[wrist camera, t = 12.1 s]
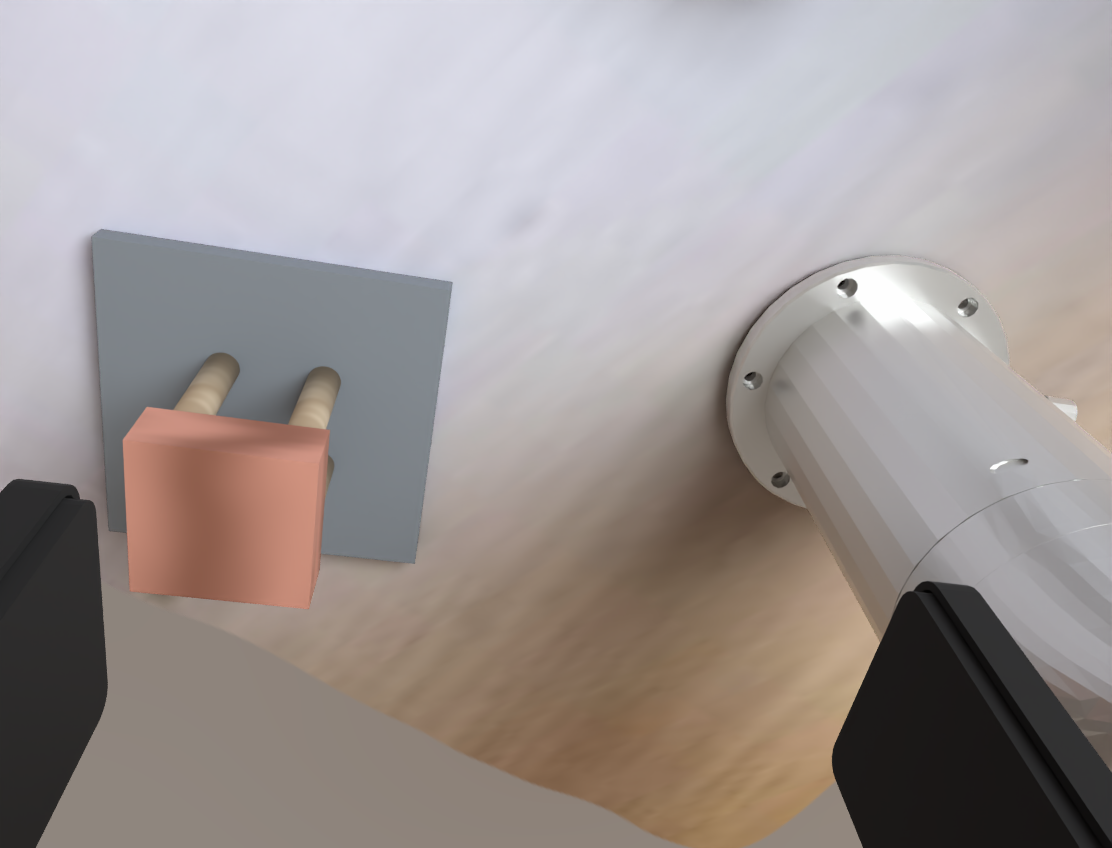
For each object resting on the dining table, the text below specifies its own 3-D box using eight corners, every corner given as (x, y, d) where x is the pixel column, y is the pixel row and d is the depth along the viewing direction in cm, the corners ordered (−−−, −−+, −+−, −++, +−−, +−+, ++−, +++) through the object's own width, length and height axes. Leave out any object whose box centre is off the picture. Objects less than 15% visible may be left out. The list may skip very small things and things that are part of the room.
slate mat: (452, 282, 38) (451, 290, 37) (416, 551, 44) (414, 563, 44) (101, 229, 36) (91, 236, 35) (116, 518, 43) (108, 530, 42)
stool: (352, 361, 38) (319, 463, 31) (341, 488, 41) (308, 609, 34) (195, 340, 37) (122, 439, 30) (195, 471, 40) (129, 591, 33)
